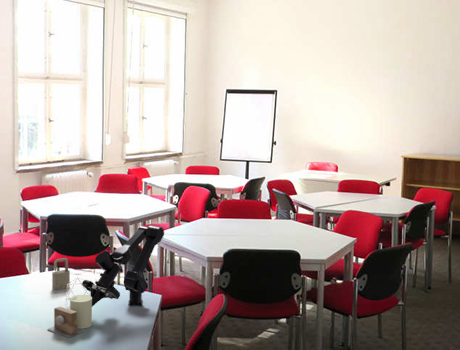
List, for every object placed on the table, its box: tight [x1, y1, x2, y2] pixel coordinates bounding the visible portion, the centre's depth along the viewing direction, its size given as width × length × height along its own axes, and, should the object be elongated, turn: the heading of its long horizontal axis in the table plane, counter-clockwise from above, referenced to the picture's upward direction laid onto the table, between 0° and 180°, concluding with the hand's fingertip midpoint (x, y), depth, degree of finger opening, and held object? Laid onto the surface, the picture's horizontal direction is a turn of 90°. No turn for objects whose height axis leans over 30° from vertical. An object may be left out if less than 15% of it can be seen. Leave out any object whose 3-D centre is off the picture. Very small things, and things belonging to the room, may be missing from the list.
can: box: [69, 294, 93, 330], centre depth 246 cm, size 9×9×12 cm
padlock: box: [51, 257, 71, 290], centre depth 292 cm, size 4×8×15 cm, turn 133°
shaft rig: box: [47, 306, 83, 339], centre depth 238 cm, size 8×13×9 cm, turn 57°
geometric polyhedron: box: [66, 277, 91, 301], centre depth 276 cm, size 12×11×9 cm
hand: (90, 306), depth 249 cm, fingers closed
